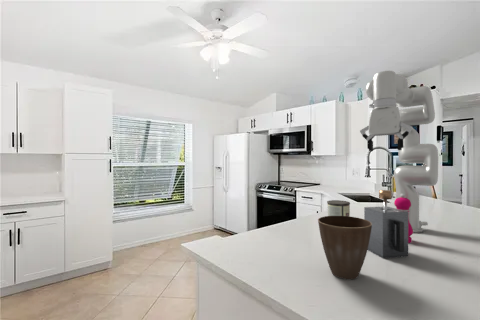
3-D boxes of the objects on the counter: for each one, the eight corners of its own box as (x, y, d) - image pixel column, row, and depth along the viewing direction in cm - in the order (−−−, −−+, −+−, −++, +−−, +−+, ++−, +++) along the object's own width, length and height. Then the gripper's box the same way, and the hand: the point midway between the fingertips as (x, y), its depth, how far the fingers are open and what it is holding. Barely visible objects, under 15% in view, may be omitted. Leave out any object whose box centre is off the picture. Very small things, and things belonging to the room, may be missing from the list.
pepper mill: (416, 244, 101) (416, 195, 101) (396, 242, 102) (396, 194, 102) (408, 238, 108) (408, 192, 108) (390, 237, 109) (389, 192, 109)
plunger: (386, 233, 96) (386, 189, 96) (401, 239, 89) (401, 191, 89) (370, 234, 95) (370, 189, 95) (383, 240, 88) (383, 191, 88)
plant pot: (345, 291, 65) (344, 230, 65) (308, 268, 78) (307, 218, 78) (384, 280, 71) (383, 224, 71) (343, 260, 84) (343, 213, 84)
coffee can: (329, 226, 127) (329, 199, 127) (351, 229, 122) (351, 201, 122) (324, 231, 119) (324, 202, 119) (348, 235, 113) (348, 204, 113)
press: (387, 246, 97) (387, 206, 98) (415, 259, 85) (414, 213, 85) (364, 248, 96) (364, 207, 96) (388, 261, 83) (388, 214, 83)
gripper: (357, 107, 97) (357, 151, 97) (410, 99, 85) (410, 149, 85) (363, 110, 102) (363, 151, 102) (414, 103, 90) (414, 150, 90)
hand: (384, 150), depth 93 cm, fingers open, 9 cm apart
